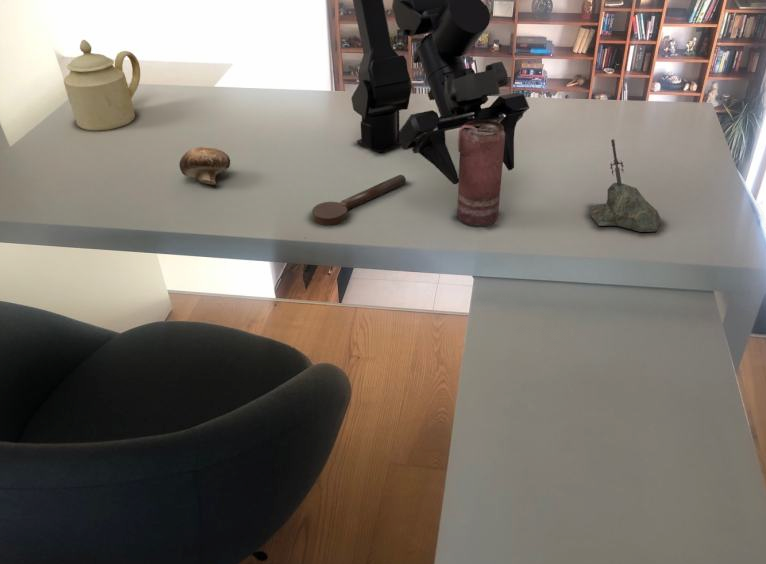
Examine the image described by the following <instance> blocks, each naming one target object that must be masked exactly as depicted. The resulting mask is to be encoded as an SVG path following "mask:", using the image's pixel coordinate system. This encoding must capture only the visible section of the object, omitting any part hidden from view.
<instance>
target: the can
mask: <svg viewBox="0 0 766 564" xmlns="http://www.w3.org/2000/svg"><path fill="white" fill-rule="evenodd" d="M504 144H505V132H504V129H503V126H502V125H501V124H500V123H498V122H495V121H491V120H474V121H470V122H467V123H466V124H464V125H463V126H462V127H461V128H459V130H458V138H457V145H458V148H457V149H458V153H459V158H458V159H459V161H458V179H459V182H458V183H457V205H456V216H457V218H458V220H459V221H460V222H461V223H463V224H464V225H466V226H470V227H477V228H482V227H487V226H490V225H492V224H494V223H495V222H496V220H497V219H499V212H500V211H499V210H500V201H501V190H502V176H503V168H504V167H503V166H504V163H503V155H504Z"/></svg>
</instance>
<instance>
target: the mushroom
mask: <svg viewBox="0 0 766 564" xmlns="http://www.w3.org/2000/svg"><path fill="white" fill-rule="evenodd" d="M178 166H179V169H180V173H181V174H182V175H183V176H187V177H191V178H196V179H197V181H198V182H200V183H202V184H206V185H207V184H208V185H211V186H215V185H217V181H216V176H217V175H218V174H220V173H223V172H225V171H227V170H228V169H229V168H230V167H231V158H230V156H229V155H228V154H227V153H226V152H225V151H223V150H221V149H218V148H215V147H203V146H200V147H194V148H191V149H189V150H188V151H186V152H185V153H184V154H183V155H182V157H181V158H180V160H179V165H178Z"/></svg>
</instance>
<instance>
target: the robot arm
mask: <svg viewBox="0 0 766 564" xmlns="http://www.w3.org/2000/svg"><path fill="white" fill-rule="evenodd" d="M352 4H353V7H354V8H353V9H354V13H355V18H356V23H357V28H358V32H359V37H360V43H361V48H362V52H363V56H362V58H361V60H360V61H361V62H360V65H359V68H358V71H357V77H358V85H357V87H356V89H355V90H354V92H353V94H352V95H351V98H350V99H351V104H352V109H353V111H354V112H355V113H357V114H358V115H359V116H361V121H360V138H359V139H358V140H356V144H357V145H360V146H362V147H364V148H366V149H369V150H371V151H374V152H375V153H379V154H383V153H387V152H388V151H390V150H393V149H395V148H398V147H399V146H401V147H402V150H405V151H407V150H411V151H412V153H413V154H419V155H421V156H422V157H423V158H424V159H426V160H427V161H428V162H429V163H430V164H432V165H433V166H434V167H435V168H436V169H437V170H439V172H440V173H441V174H442V175H443V176H444V177H445V178H446V179H448V181H450V183H451V184H452V185H455V186H456V185H458V182H459V174H458V172H457V169H456V166H455V164H454V162H453V158H452V157H451V154H450V151H449V149H448V146H447V143H446V142H447V141H446V132H447V131H451V130H455V129H460V128H461V127H462V126H463V125H464V124H466V123H467V122H470V121H474V120H491V121H495V122H498V123H500V124H501V125H502V126H503V129H504V132H505V144H504V155H503V165H504V167H506V170H508V171H510V172H511V171H513V169H515V131H516V126H517V124H518V122H519V121H520V120H521V119H522V118H523V116H524V114H525V113H526V112H527V111H528V110H529V109H530V105H529V101H528V100H527V97H526V96H525V95H524V93H521V92H519V91H517V92H513V93H508V94H502V95H500V94H501V91H500V88H503V87H506V86H508V83H509V77H508V70H507V69H506V67H505V65H504V63H503V61H496V62H492V63H490V64H487V65H486V66H485V70H483V71H479V72H476V71H475V70H474V68H473V67H469V68H467V66H466V63H465V60H464V58H463V57H464V56H465V55H467V54H468V53H469V52H470V51H471V49H473V47H474V46H475V44H476V43H477V41H478V40H479V38H480V37H481V36H482V35H483V33H484V32H485V31H486V30H487V28H488V26H489V25H490V22H491V13H490V9H489V7H488V6H487V4H485V3H484V1H482V0H392V4H391V8H392V12H393V15H394V20H395V23H396V25H397V27H398V28H399V30H400V32H401V33H402V35H404V36H405V37H416V36H422V35H424V37H423V38H422V39H421V41H420V42H417V43H416V46H415V47H416V48H415V51H414V53H413V58H412V62H413V63H414V64H419V63H420V64H421V67H422V70H423V72H424V75H425V78H426V80H427V82H428V86H429V89H430V90H429V91H428V92H427V96H428V99H429V101H434V102H435V104H436V107H437V108H436V109H437V110H438V113H439V114H438V113H437V112H436V111H435V110H432V109H431V110H427V111H423V112H416V113H412V114H410V115H409V117H408V118H407V119H406V121H404V123H403V125H402V127H401V128H400V111H403V110H404V111H406V110H408V109H409V103H410V99H411V95H412V89H413V85H412V80H411V79H412V78H411V77H410V74H409V68H408V61H407V59H406V56H405V55H403V54H402V55H399V53H397V51H396V50H395V49H394V48H393V44H392V39H391V35H390V30H389V23H388V19H387V18H388V17H387V14H386V9H385V3H384V0H352ZM497 95H499V96H498V97H497V98H496V99H495V100H494V101H493V102H492V104H490V105H489V106H487V107H483V108H482V105H485V104H486V103H487V102H488V101H489V97H488V96H497Z"/></svg>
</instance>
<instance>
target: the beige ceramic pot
mask: <svg viewBox="0 0 766 564" xmlns="http://www.w3.org/2000/svg"><path fill="white" fill-rule="evenodd" d="M79 50H80V51H81V52H82V53H83V54H81V55H78V56H76V57H74V58H73V59H71V61H70V63H68V64H67V65H66V69H67V70H68V71H69V74H68V75H66V76H65V77H63V85H64V88H65V92H66V95H67V98H68V101H69V104H70V108H71V110H72V114H73V116H74V118H75V123H76V125H77V126H78V127H79V128H81V129H83V130H87V131H107V130H108V131H109V130H114V129H119V128H122V127H124V126H126V125H128V124H130V123H131V122H132V121H134V119H135V118H136V112H135V110H134V105H133V100H132V99H133V97H134V95H135V93H136V92H137V90H138V87H139V84H140V81H141V66H140V63H139V60H138V58H137V56H136V55H135V54H134V53H133V52H131V51H129V50H123V51H119V52H118V53H117V54H116V56H115V58H114V59H115V60H113V59H112V58H110V57H108V56H106V55H104V54H102V53H92V46H91V44H90V43H89V42H88V41H87V40H85V39H82V40H81V41H80V44H79ZM126 57H127V58H128V60H129V62H130V64H131V69H132V72H131V73H132V76H131V81H130V83H129V85H128V81H127V79H126V74H125V71H124V70H123V66H124V65H123V63H124V60H125V58H126Z"/></svg>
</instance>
